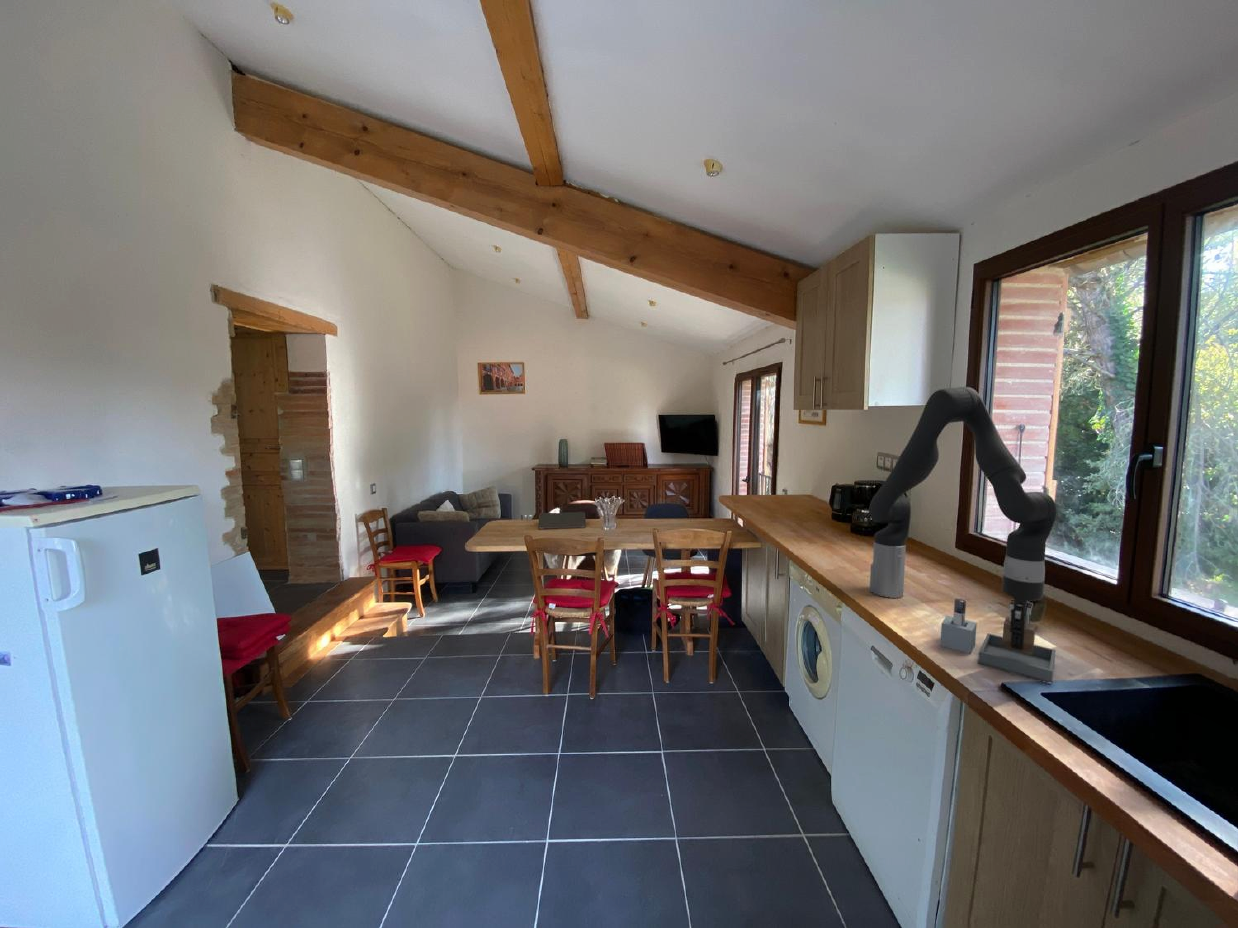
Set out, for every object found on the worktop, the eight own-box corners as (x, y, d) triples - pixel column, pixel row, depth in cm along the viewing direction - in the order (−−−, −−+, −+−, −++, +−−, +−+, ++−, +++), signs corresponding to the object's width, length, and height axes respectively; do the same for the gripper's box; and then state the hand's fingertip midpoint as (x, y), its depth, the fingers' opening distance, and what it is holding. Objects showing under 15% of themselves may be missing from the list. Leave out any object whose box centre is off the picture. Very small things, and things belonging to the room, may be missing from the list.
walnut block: (1031, 655, 113) (1033, 630, 112) (1001, 647, 117) (1003, 623, 116) (1033, 646, 117) (1035, 622, 116) (1004, 639, 121) (1006, 616, 120)
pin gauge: (951, 645, 126) (953, 600, 125) (952, 641, 128) (955, 597, 127) (962, 648, 125) (965, 603, 123) (963, 644, 126) (966, 600, 125)
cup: (1041, 622, 139) (1043, 595, 138) (1047, 633, 132) (1050, 604, 132) (1008, 617, 142) (1010, 591, 142) (1013, 627, 136) (1015, 599, 135)
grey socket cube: (940, 645, 126) (941, 623, 126) (945, 636, 131) (946, 615, 130) (970, 653, 122) (972, 630, 121) (975, 644, 126) (976, 622, 126)
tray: (978, 663, 117) (979, 651, 117) (986, 644, 127) (987, 633, 126) (1051, 684, 108) (1052, 671, 108) (1054, 661, 118) (1055, 649, 117)
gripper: (1042, 587, 107) (1036, 660, 109) (1046, 571, 118) (1040, 638, 119) (999, 579, 113) (994, 649, 114) (1006, 565, 123) (1002, 629, 125)
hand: (1018, 643), depth 117 cm, fingers closed on walnut block, 5 cm apart
